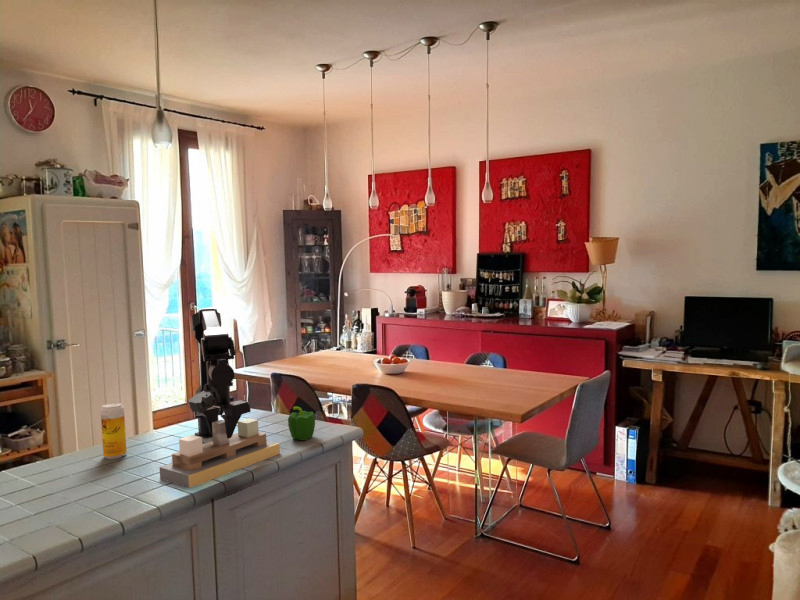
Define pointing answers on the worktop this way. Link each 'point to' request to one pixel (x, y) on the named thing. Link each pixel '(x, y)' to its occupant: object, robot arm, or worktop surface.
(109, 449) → the beer can
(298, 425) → the bell pepper
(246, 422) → the pale olive cube
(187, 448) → the block
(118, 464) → the worktop surface
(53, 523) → the worktop surface
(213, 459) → the dock
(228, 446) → the pallet
